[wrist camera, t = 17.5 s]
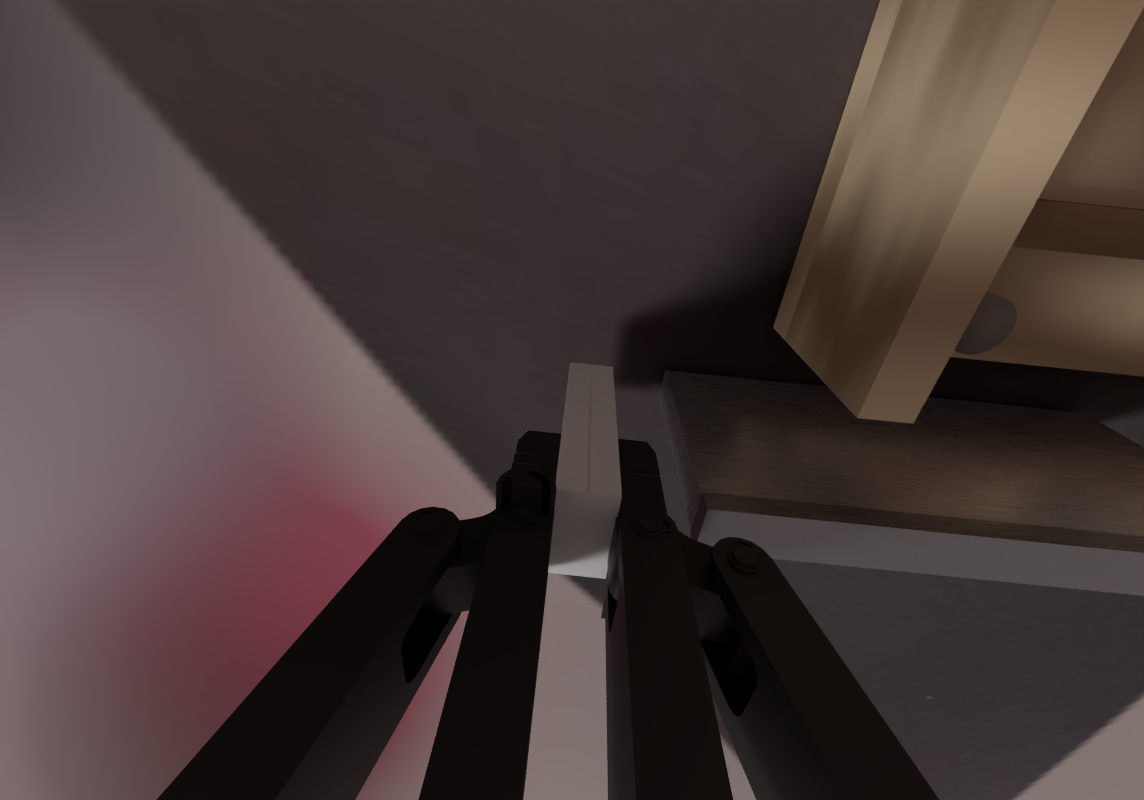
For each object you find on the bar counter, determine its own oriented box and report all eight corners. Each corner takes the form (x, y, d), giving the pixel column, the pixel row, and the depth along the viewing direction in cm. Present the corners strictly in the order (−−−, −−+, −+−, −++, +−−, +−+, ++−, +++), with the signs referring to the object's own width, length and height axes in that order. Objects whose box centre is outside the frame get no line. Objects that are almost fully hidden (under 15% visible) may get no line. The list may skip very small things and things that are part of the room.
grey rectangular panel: (665, 368, 17) (707, 508, 11) (1084, 410, 17) (1382, 576, 11) (658, 399, 18) (694, 551, 11) (1061, 440, 18) (1328, 614, 11)
